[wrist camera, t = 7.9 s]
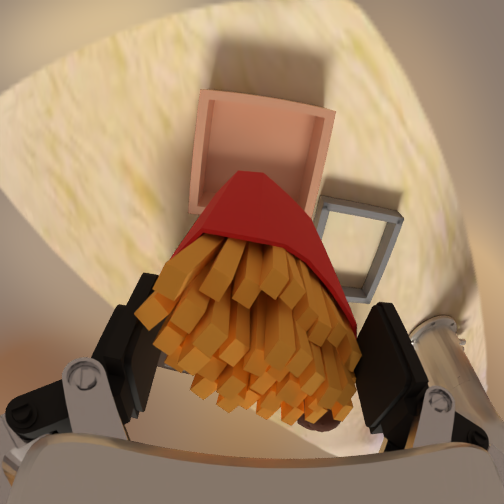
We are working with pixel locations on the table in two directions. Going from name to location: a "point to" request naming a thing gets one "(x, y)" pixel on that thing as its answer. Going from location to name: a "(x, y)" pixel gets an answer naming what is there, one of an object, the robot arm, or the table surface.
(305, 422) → the ice cream bowl
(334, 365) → the french fries
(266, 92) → the table surface
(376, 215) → the gray rectangular frame
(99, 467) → the robot arm
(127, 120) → the table surface
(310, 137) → the pink open box
